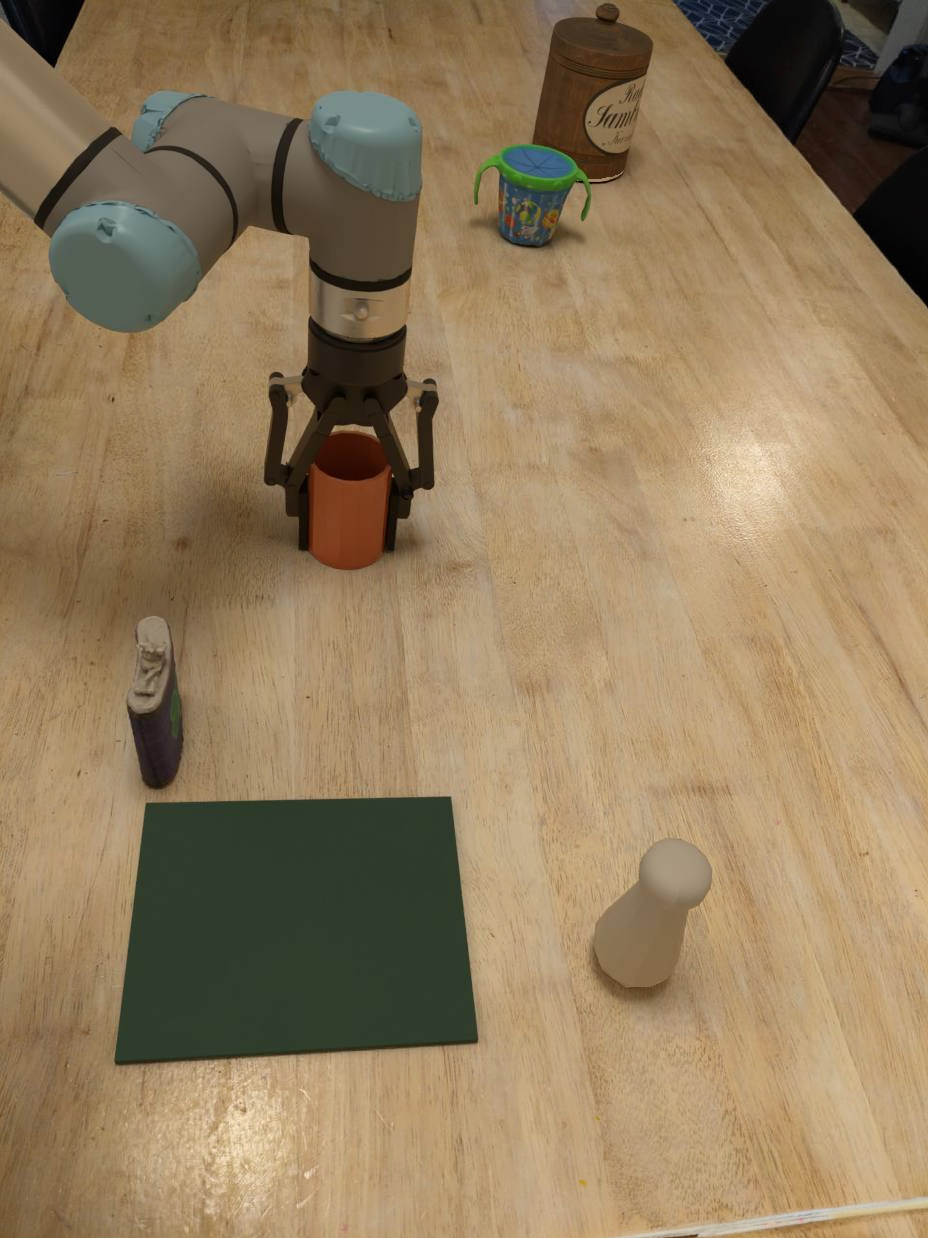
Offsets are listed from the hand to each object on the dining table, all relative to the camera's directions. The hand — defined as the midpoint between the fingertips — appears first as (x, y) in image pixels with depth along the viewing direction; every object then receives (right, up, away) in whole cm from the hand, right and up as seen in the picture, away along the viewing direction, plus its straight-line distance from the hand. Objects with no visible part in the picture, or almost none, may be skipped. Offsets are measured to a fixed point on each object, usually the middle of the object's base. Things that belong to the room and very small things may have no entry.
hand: (346, 539), depth 94 cm
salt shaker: (+22, -31, -24) cm, 45 cm away
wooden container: (+28, +63, +65) cm, 95 cm away
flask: (-12, -16, -17) cm, 26 cm away
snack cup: (+19, +45, +46) cm, 67 cm away
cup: (0, 0, 0) cm, 0 cm away
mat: (0, -27, -25) cm, 37 cm away
